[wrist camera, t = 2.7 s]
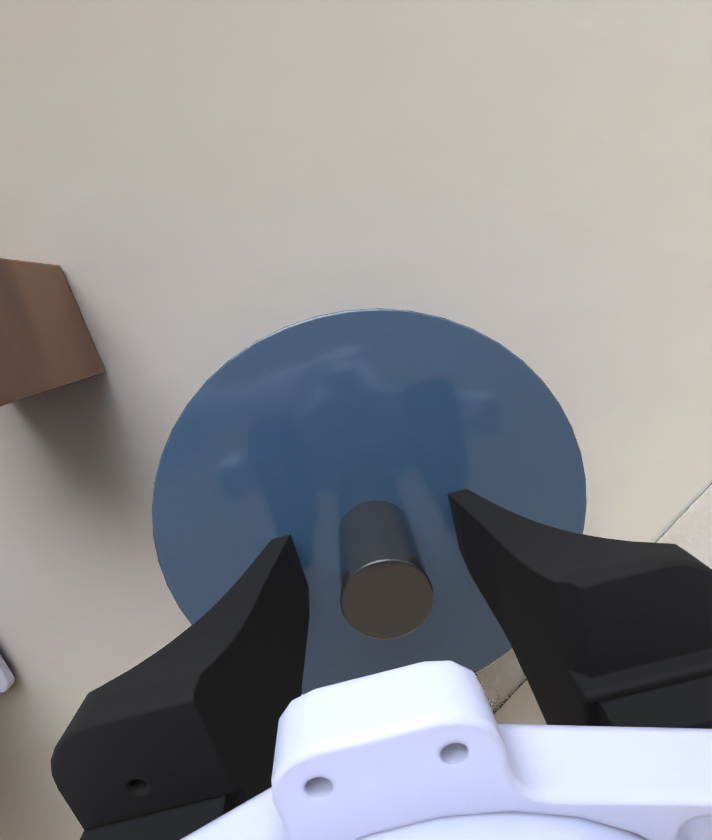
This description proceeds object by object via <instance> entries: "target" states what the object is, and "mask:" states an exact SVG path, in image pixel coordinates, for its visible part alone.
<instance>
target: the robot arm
mask: <svg viewBox="0 0 712 840" xmlns="http://www.w3.org/2000/svg"><path fill="white" fill-rule="evenodd" d="M448 498H449V503H450V508H451V512H452V517H453V522H454V526H455V531H456V536H457V540H458V545H459V549H460V552H461V554H462V556H463V559H464V561H465V563H466V566H467V568H468V570H469V573H470V575H471V577H472V578H473V580H474V582H475V584H476V585H477V587H478V589H479V590H480V592H481V594H482V596H483V597H484V599H485V601H486V602H487V604H488V606H489V607H490V609H491V611H492V613H493V614H494V616H495V618H496V619H497V621H498V623H499V624H500V626H501V628H502V629H503V631H504V633H505V635H506V637H507V639H508V640H509V642H510V644H511V646H512V648H513V650H514V653H515V655H516V657H517V659H518V661H519V663H520V666H521V668H522V670H523V672H524V674H525V676H526V679H527V681H528V683H529V685H530V688H531V690H532V692H533V694H534V697H535V699H536V701H537V703H538V705H539V708H540V710H541V712H542V714H543V717H544V719H545V721H546V724H547V725H533V724H497V722H496V719H495V717H494V714H493V712H492V709H491V707H490V704H489V702H488V699H487V696H486V694H485V691H484V689H483V687H482V685H481V684H480V682H479V680H478V679H477V677H476V676H475V674H474V672H473V671H472V670H470V669H468V668H466V667H463V666H461V665H459V664H457V663H455V662H453V661H424V662H420V663H416V664H412V665H408V666H404V667H400V668H396V669H392V670H388V671H384V672H380V673H376V674H372V675H368V676H364V677H360V678H356V679H352V680H349V681H345V682H341V683H337V684H333V685H329V686H325V687H321V688H317V689H314V690H312V691H310V692H308V693H306V694H304V695H302V681H303V672H304V663H305V654H306V645H307V636H308V627H309V616H310V614H309V586H308V583H307V581H306V578H305V575H304V572H303V569H302V566H301V563H300V560H299V557H298V554H297V551H296V548H295V545H294V542H293V539H292V536H291V534H290V535H286V536H282V537H278V538H274V539H272V540H271V541H270V542H269V543H268V544H267V545H266V547H265V548H264V549H263V550H262V552H261V553H260V554H259V555H258V557H257V558H256V559H255V560H254V562H253V563H252V564H251V565H250V566H249V568H248V569H247V570H246V571H245V572H244V574H243V575H242V576H241V577H240V578H239V579H238V581H237V582H236V583H235V584H234V585H233V586H232V587H231V588H230V589H229V590H228V592H227V593H226V594H225V595H224V596H223V597H222V598H221V599H220V600H219V601H218V602H217V603H216V604H215V605H214V606H213V607H212V608H211V609H210V610H209V611H208V612H207V613H206V614H204V615H203V616H202V617H201V618H200V619H199V620H198V621H197V622H195V623H194V624H193V625H192V626H191V627H189V628H188V629H187V630H185V631H184V632H183V633H182V634H180V635H179V636H178V637H177V638H175V639H174V640H173V641H172V642H170V643H169V644H168V645H166V646H165V647H163V648H162V649H161V650H159V651H158V652H156V653H155V654H153V655H152V656H150V657H149V658H147V659H146V660H144V661H143V662H141V663H140V664H138V665H137V666H135V667H133V668H132V669H130V670H129V671H127V672H125V673H124V674H122V675H120V676H118V677H117V678H115V679H113V680H111V681H110V682H108V683H106V684H104V685H103V686H101V687H99V688H97V689H95V690H94V691H92V692H90V693H88V695H87V696H86V698H85V700H84V701H83V703H82V704H81V706H80V708H79V709H78V711H77V713H76V714H75V716H74V717H73V719H72V721H71V722H70V724H69V726H68V727H67V729H66V730H65V732H64V734H63V735H62V737H61V739H60V740H59V742H58V743H57V745H56V747H55V749H54V752H53V755H52V758H51V771H52V776H53V778H54V781H55V783H56V785H57V787H58V790H59V791H60V793H61V794H62V796H63V797H64V799H65V800H66V802H67V804H68V805H69V807H70V808H71V810H72V811H73V813H74V814H75V816H76V818H77V819H78V821H79V822H80V824H81V825H82V827H83V828H84V832H83V834H82V836H81V838H80V840H712V569H711V568H709V567H708V566H707V565H705V564H704V563H702V562H701V561H700V560H698V559H697V558H696V557H694V556H693V555H691V554H690V553H688V552H687V551H685V550H684V549H683V548H681V547H679V546H678V545H676V544H670V543H649V542H631V541H622V540H614V539H606V538H600V537H593V536H588V535H584V534H579V533H574V532H570V531H566V530H562V529H558V528H555V527H551V526H548V525H545V524H542V523H539V522H536V521H533V520H530V519H528V518H525V517H523V516H520V515H518V514H516V513H513V512H511V511H509V510H507V509H505V508H502V507H500V506H498V505H496V504H494V503H492V502H490V501H488V500H487V499H485V498H483V497H481V496H479V495H477V494H475V493H473V492H472V491H470V490H468V489H464V490H460V491H456V492H452V493H448ZM13 683H14V676H13V674H12V672H11V671H10V669H9V667H8V666H7V664H6V663H5V661H4V659H3V658H2V656H1V655H0V693H2V692H5V691H7V690H8V689H9V688H10V686H11V685H12V684H13ZM301 695H302V696H301Z"/></svg>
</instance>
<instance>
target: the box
mask: <svg viewBox="0 0 712 840" xmlns="http://www.w3.org/2000/svg"><path fill="white" fill-rule="evenodd" d="M656 543H670V544H676V545H678V546H679V547H681V548H683V549H684V550H685V551H687V552H688V553H690V554H691V555H693V556H694V557H696V558H697V559H698V560H700V561H701V562H702V563H704V564H705V565H707V566H708V567H709V568H711V569H712V484H711V485H710V486H709V487H708V488H707V489H706V491H705V492H704V493H703V494H702V495H701V496H700V497H699V498H698V499H697V500H696V501H695V502H694V503H693V504H692V505H691V506H690V507H689V508H688V510H687V511H685V512H684V513H683V514H682V516H681V517H680V518H679V519H677V521H676V522H675V523H674V524H673V525H672V527H671V528H670V529H669V530H668V531H667V532H666V533H665V534H664V535H663V536H662V537H661V538H660V539H659V540H658V541H657V542H656ZM494 717H495V719H496V722H497V724H533V725H547V724H546V721H545V719H544V717H543V714H542V712H541V710H540V708H539V705H538V703H537V701H536V699H535V697H534V694H533V692H532V690H531V688H530V685H529V683H528V681H527V680H526V681H525V682H524V683H523V684H522V685H521V686H520V687H519V688H518V689H517V690H516V691H515V692H514V693H513V695H512V696H511V697H510V698H509V699H508V700H507V701H506V703H505V704H503V706H502V707H501V708H500V709H499V710H498V711H497V712H496V713H495V714H494Z"/></svg>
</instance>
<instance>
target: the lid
mask: <svg viewBox="0 0 712 840" xmlns="http://www.w3.org/2000/svg"><path fill="white" fill-rule="evenodd" d="M464 489H468V490H470V491H472V492H473V493H475V494H477V495H479V496H481V497H483V498H485V499H487V500H488V501H490V502H492V503H494V504H496V505H498V506H500V507H502V508H505V509H507V510H509V511H511V512H513V513H516V514H518V515H520V516H523V517H525V518H528V519H530V520H533V521H536V522H539V523H542V524H545V525H548V526H551V527H555V528H558V529H562V530H566V531H570V532H574V533H579V534H583V530H584V522H585V512H586V479H585V473H584V468H583V462H582V457H581V452H580V449H579V446H578V443H577V440H576V438H575V435H574V432H573V429H572V426H571V424H570V423H569V421H568V419H567V417H566V415H565V413H564V411H563V409H562V407H561V405H560V404H559V402H558V401H557V399H556V398H555V397H554V395H553V394H552V393H551V391H550V390H549V388H548V387H547V386H546V384H545V383H544V382H543V381H542V380H541V378H540V377H539V376H538V375H537V374H536V373H535V372H534V371H533V370H532V369H531V368H530V367H529V366H528V365H527V364H526V363H525V362H524V361H523V360H521V359H520V358H518V357H517V356H516V355H514V354H513V353H512V352H510V351H509V350H508V349H506V348H505V347H504V346H502V345H501V344H500V343H498V342H496V341H494V340H492V339H491V338H489V337H487V336H485V335H483V334H481V333H480V332H478V331H476V330H474V329H472V328H469V327H467V326H464V325H461V324H458V323H456V322H453V321H450V320H448V319H445V318H441V317H437V316H432V315H428V314H423V313H418V312H414V311H405V310H393V309H380V308H378V309H360V310H346V311H341V312H336V313H331V314H326V315H320V316H316V317H313V318H310V319H307V320H304V321H301V322H298V323H295V324H292V325H289V326H286V327H284V328H282V329H280V330H278V331H276V332H274V333H272V334H270V335H268V336H266V337H264V338H262V339H260V340H258V341H256V342H255V343H253V344H252V345H250V346H249V347H247V348H246V349H244V350H243V351H242V352H240V353H239V354H237V355H236V356H234V357H233V358H231V359H230V360H229V361H228V362H226V363H225V364H224V365H223V366H222V367H221V368H220V369H219V370H218V371H217V372H216V373H214V374H213V375H212V376H211V377H210V378H209V379H208V380H207V381H206V382H205V383H204V384H203V386H202V387H201V388H200V389H199V391H198V392H197V393H196V394H195V395H194V397H193V398H192V399H191V400H190V402H189V403H188V404H187V405H186V407H185V409H184V410H183V412H182V414H181V415H180V417H179V419H178V420H177V422H176V424H175V425H174V427H173V429H172V431H171V433H170V436H169V438H168V440H167V443H166V445H165V448H164V450H163V453H162V455H161V458H160V462H159V466H158V470H157V474H156V478H155V482H154V492H153V503H152V521H153V537H154V542H155V547H156V551H157V556H158V561H159V564H160V567H161V569H162V572H163V575H164V578H165V580H166V583H167V586H168V588H169V589H170V591H171V593H172V595H173V597H174V599H175V601H176V602H177V604H178V606H179V608H180V609H181V611H182V612H183V613H184V615H185V616H186V618H187V619H188V620H189V622H190V623H191V624H192V625H193V624H194V623H195V622H197V621H198V620H199V619H200V618H201V617H202V616H203V615H204V614H206V613H207V612H208V611H209V610H210V609H211V608H212V607H213V606H214V605H215V604H216V603H217V602H218V601H219V600H220V599H221V598H222V597H223V596H224V595H225V594H226V593H227V592H228V590H229V589H230V588H231V587H232V586H233V585H234V584H235V583H236V582H237V581H238V579H239V578H240V577H241V576H242V575H243V574H244V572H245V571H246V570H247V569H248V568H249V566H250V565H251V564H252V563H253V562H254V560H255V559H256V558H257V557H258V555H259V554H260V553H261V552H262V550H263V549H264V548H265V547H266V545H267V544H268V543H269V542H270V541H271V540H272V539H274V538H278V537H282V536H286V535H290V534H291V536H292V539H293V542H294V545H295V548H296V551H297V554H298V557H299V560H300V563H301V566H302V569H303V572H304V575H305V578H306V581H307V583H308V586H309V614H310V616H309V627H308V636H307V645H306V654H305V663H304V672H303V681H302V694H306V693H308V692H310V691H312V690H314V689H317V688H321V687H325V686H329V685H333V684H337V683H341V682H345V681H349V680H352V679H356V678H360V677H364V676H368V675H372V674H376V673H380V672H384V671H388V670H392V669H396V668H400V667H404V666H408V665H412V664H416V663H420V662H424V661H453V662H455V663H457V664H459V665H461V666H463V667H466V668H468V669H470V670H472V671H473V672H474V673H475V672H476V671H478V670H480V669H482V668H484V667H486V666H487V665H489V664H490V663H492V662H493V661H495V660H496V659H497V658H499V657H500V656H502V655H503V654H505V653H506V652H507V651H509V650H510V649H511V648H512V646H511V644H510V642H509V640H508V639H507V637H506V635H505V633H504V631H503V629H502V628H501V626H500V624H499V623H498V621H497V619H496V618H495V616H494V614H493V613H492V611H491V609H490V607H489V606H488V604H487V602H486V601H485V599H484V597H483V596H482V594H481V592H480V590H479V589H478V587H477V585H476V584H475V582H474V580H473V578H472V577H471V575H470V573H469V570H468V568H467V566H466V563H465V561H464V559H463V556H462V554H461V552H460V549H459V545H458V540H457V536H456V531H455V526H454V522H453V517H452V512H451V508H450V503H449V498H448V493H452V492H456V491H460V490H464Z"/></svg>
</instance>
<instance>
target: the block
mask: <svg viewBox="0 0 712 840" xmlns="http://www.w3.org/2000/svg"><path fill="white" fill-rule="evenodd" d="M104 372H105V369H104V367H103V365H102V362H101V360H100V358H99V355H98V353H97V351H96V348H95V346H94V344H93V341H92V339H91V337H90V334H89V332H88V330H87V327H86V325H85V323H84V320H83V318H82V316H81V313H80V311H79V309H78V306H77V304H76V302H75V299H74V297H73V295H72V292H71V290H70V288H69V285H68V283H67V281H66V278H65V276H64V274H63V271H62V269H61V267H60V266H59V265H51V264H43V263H35V262H27V261H19V260H11V259H2V258H0V406H3V405H6V404H9V403H12V402H15V401H18V400H21V399H24V398H28V397H31V396H34V395H37V394H40V393H43V392H46V391H49V390H52V389H55V388H58V387H61V386H65V385H68V384H71V383H74V382H77V381H80V380H83V379H86V378H89V377H92V376H95V375H98V374H102V373H104Z"/></svg>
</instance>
